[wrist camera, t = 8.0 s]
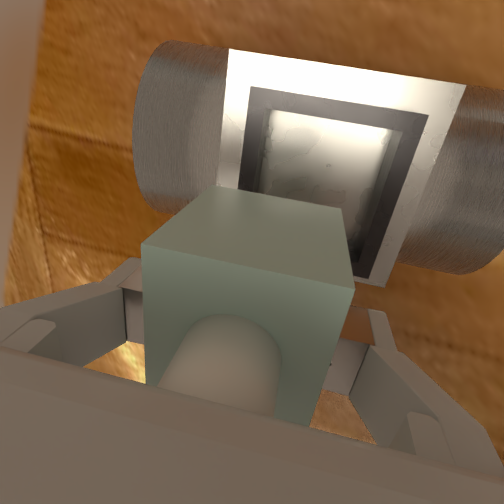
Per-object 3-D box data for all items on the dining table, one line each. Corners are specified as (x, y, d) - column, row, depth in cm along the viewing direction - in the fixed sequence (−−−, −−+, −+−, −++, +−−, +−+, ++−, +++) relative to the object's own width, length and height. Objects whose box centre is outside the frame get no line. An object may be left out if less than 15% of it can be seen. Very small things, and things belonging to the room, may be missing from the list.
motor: (459, 239, 30) (571, 356, 17) (199, 187, 33) (114, 251, 20) (527, 101, 25) (776, 109, 11) (208, 52, 28) (98, 12, 14)
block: (309, 324, 13) (295, 597, 6) (203, 300, 13) (74, 525, 6) (340, 208, 11) (381, 431, 4) (211, 184, 11) (26, 339, 4)
